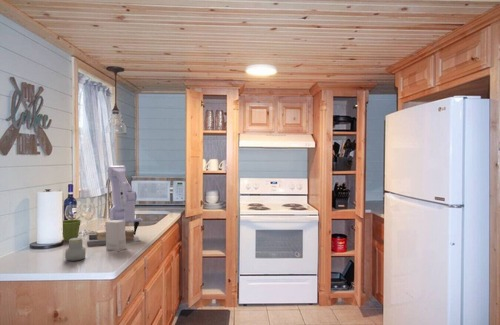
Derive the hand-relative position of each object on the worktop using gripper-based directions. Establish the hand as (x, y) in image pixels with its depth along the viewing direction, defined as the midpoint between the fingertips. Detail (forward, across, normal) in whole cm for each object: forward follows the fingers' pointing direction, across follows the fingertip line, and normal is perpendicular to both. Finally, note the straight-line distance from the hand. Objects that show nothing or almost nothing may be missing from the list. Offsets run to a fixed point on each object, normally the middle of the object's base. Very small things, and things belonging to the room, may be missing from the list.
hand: (129, 234), depth 219 cm
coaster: (+3, 0, 0) cm, 3 cm away
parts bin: (+3, -16, 0) cm, 16 cm away
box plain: (+3, -16, +4) cm, 16 cm away
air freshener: (+4, -28, -32) cm, 43 cm away
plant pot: (+3, -32, +12) cm, 34 cm away
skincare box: (+3, -9, -20) cm, 22 cm away
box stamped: (+3, 0, 0) cm, 3 cm away
